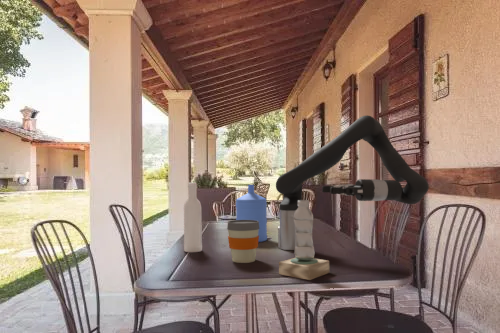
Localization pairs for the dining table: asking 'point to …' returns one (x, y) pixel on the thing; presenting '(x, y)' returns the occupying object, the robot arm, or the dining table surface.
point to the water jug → (253, 211)
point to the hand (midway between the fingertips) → (326, 189)
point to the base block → (304, 268)
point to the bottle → (192, 221)
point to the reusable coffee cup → (243, 240)
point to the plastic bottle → (303, 231)
